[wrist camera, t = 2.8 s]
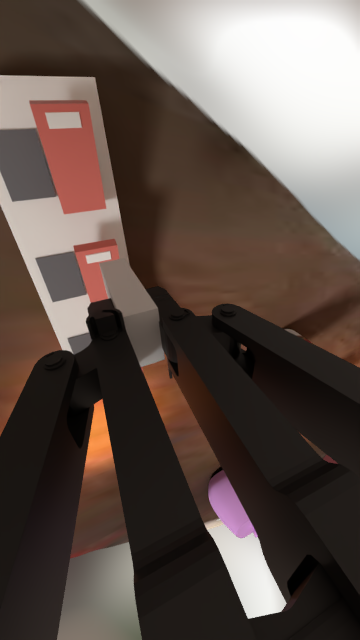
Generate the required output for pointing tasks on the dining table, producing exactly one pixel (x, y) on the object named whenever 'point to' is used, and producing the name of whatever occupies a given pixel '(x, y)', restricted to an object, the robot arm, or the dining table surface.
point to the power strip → (53, 202)
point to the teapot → (229, 506)
